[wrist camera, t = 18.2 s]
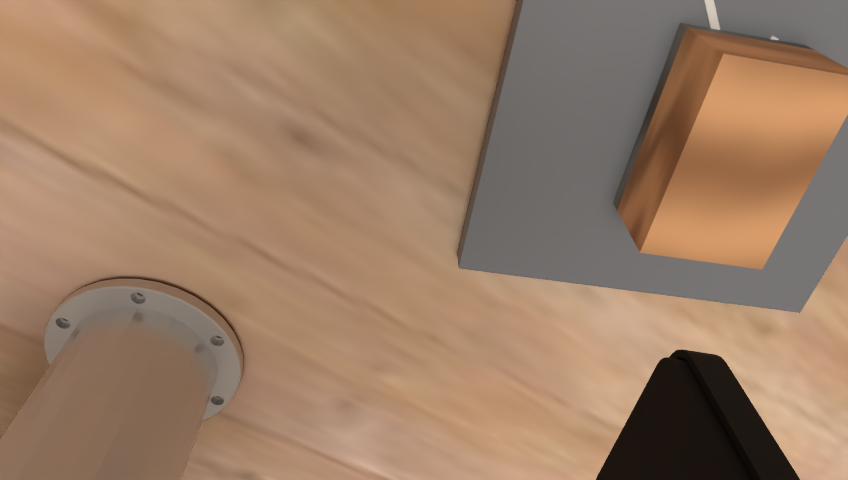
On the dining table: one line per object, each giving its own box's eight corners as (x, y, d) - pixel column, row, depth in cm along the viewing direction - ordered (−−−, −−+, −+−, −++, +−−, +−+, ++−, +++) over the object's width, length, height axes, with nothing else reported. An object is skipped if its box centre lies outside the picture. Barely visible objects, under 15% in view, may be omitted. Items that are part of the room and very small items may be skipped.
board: (788, 298, 42) (800, 313, 41) (457, 254, 40) (458, 268, 38) (1005, -69, 30) (1033, -64, 29) (555, -161, 28) (562, -160, 27)
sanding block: (721, 219, 37) (762, 269, 33) (613, 203, 36) (639, 252, 32) (806, 45, 31) (867, 78, 27) (680, 23, 31) (723, 53, 27)
